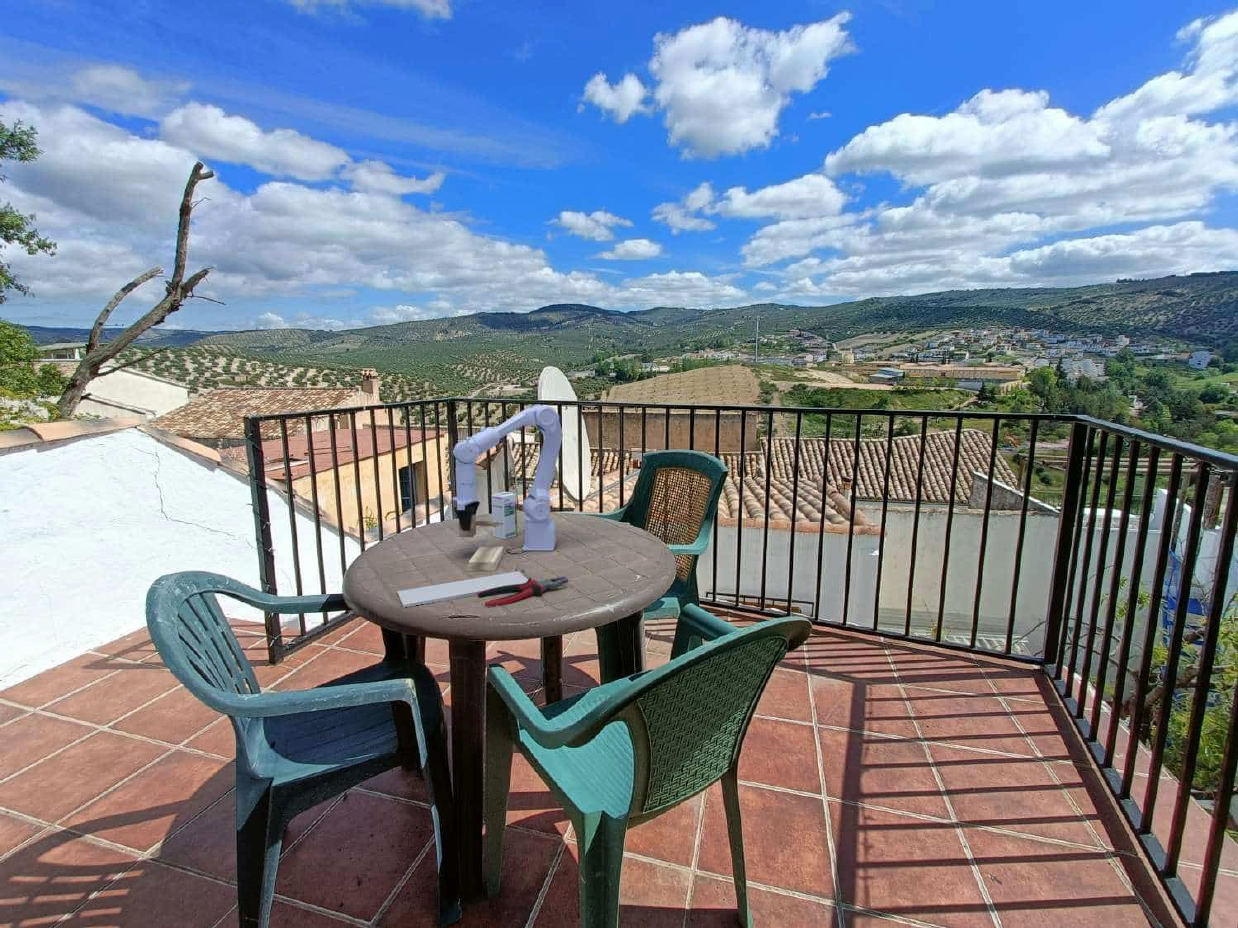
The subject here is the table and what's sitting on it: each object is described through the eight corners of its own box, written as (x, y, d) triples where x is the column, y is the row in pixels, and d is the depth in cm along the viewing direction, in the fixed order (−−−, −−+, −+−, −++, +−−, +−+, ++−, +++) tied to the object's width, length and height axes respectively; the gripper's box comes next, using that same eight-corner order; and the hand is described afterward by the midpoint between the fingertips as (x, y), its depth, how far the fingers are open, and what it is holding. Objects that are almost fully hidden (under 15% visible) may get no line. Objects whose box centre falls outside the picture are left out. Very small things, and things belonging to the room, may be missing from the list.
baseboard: (396, 593, 142) (403, 610, 132) (395, 582, 142) (402, 599, 131) (515, 573, 157) (530, 587, 146) (515, 563, 156) (530, 576, 146)
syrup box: (504, 539, 186) (503, 496, 183) (492, 536, 189) (491, 493, 187) (517, 535, 190) (516, 493, 188) (505, 532, 194) (504, 490, 191)
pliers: (486, 600, 132) (573, 579, 142) (476, 588, 139) (559, 568, 150) (487, 613, 132) (574, 590, 143) (477, 599, 140) (560, 579, 150)
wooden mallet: (499, 534, 170) (499, 514, 170) (496, 538, 167) (496, 517, 166) (462, 533, 170) (462, 513, 169) (459, 537, 166) (458, 516, 165)
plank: (503, 554, 171) (503, 546, 170) (494, 570, 157) (494, 561, 156) (480, 554, 170) (479, 546, 170) (468, 570, 157) (468, 561, 156)
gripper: (459, 478, 173) (460, 521, 175) (445, 487, 159) (447, 535, 161) (482, 478, 173) (483, 521, 175) (470, 488, 159) (472, 535, 161)
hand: (468, 528), depth 168 cm, fingers closed on wooden mallet, 4 cm apart
